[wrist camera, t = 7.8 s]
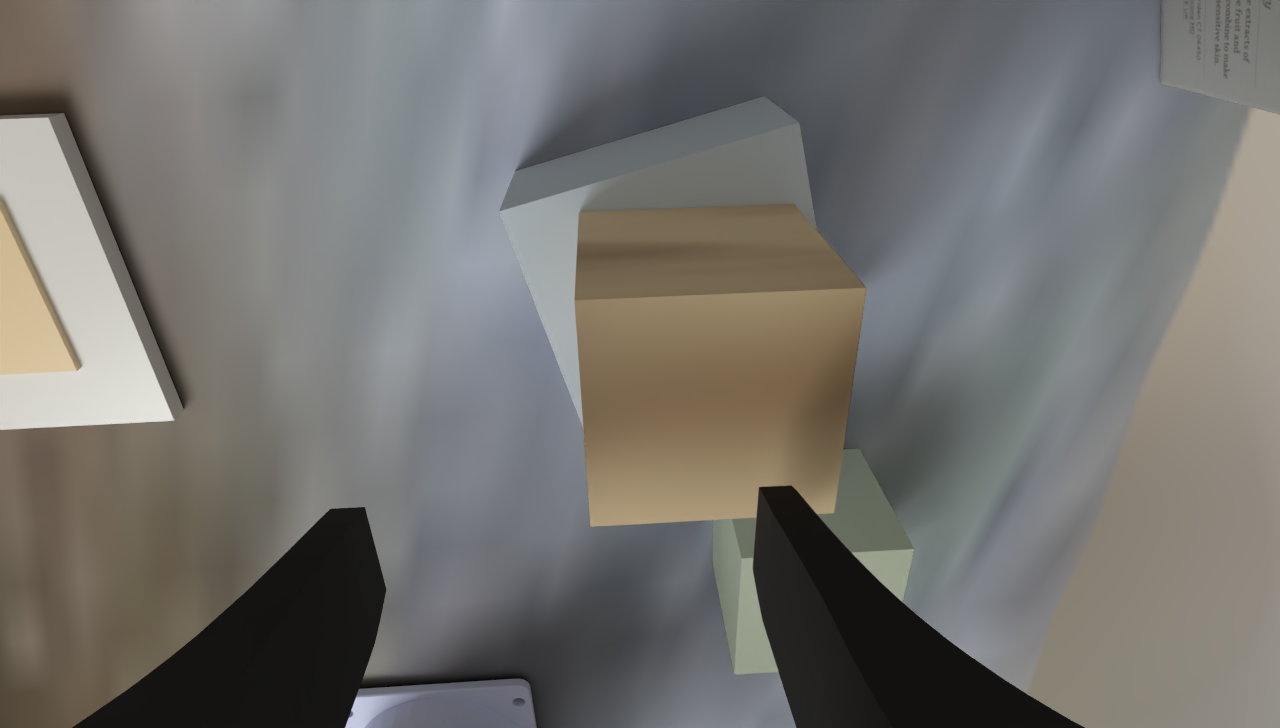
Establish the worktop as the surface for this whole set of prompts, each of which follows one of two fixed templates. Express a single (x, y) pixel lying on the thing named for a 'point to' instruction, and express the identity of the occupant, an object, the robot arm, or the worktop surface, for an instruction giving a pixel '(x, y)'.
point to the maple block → (711, 360)
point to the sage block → (856, 524)
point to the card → (67, 294)
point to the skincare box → (1223, 49)
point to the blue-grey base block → (646, 196)
